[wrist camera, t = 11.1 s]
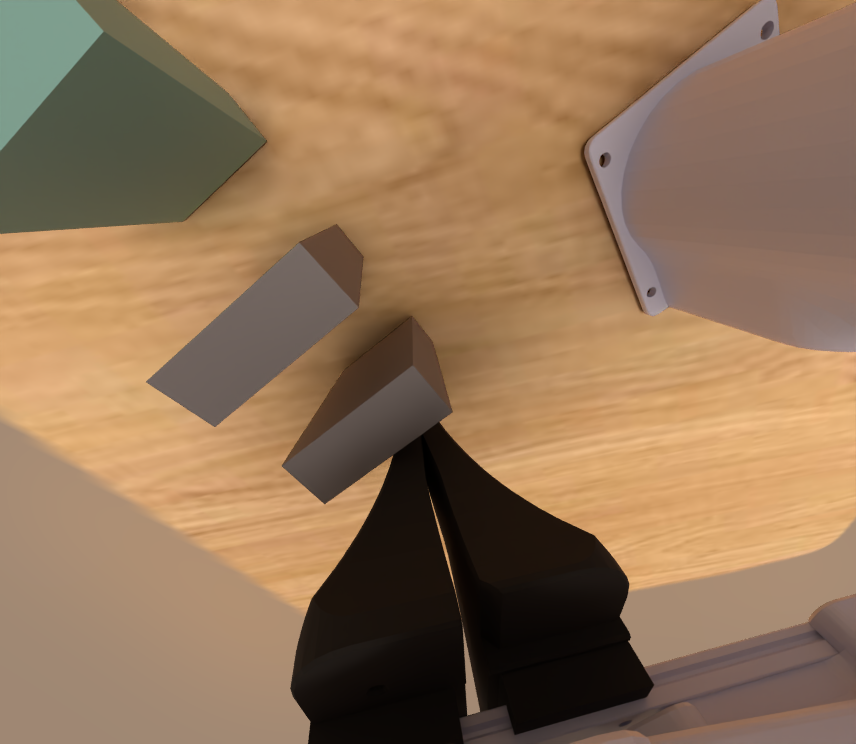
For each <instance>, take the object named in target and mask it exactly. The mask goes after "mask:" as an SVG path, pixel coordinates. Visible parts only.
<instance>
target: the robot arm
mask: <svg viewBox="0 0 856 744" xmlns="http://www.w3.org/2000/svg"><path fill="white" fill-rule="evenodd" d="M761 30H762V36H760V35H761ZM602 154H603V155H604V157H605V162H604V165H603V166H602V167H601V166H600V165H599V159H600V157H601V155H602ZM584 155H585V159H586V162H587V164H588V167H589V170H590V172H591V175H592V177H593V180H594V183H595V185H596V188H597V191H598V193H599V196H600V198H601V201H602V204H603V206H604V209H605V212H606V214H607V217H608V220H609V222H610V225H611V227H612V230H613V233H614V235H615V238H616V241H617V243H618V246H619V249H620V251H621V254H622V256H623V259H624V262H625V264H626V267H627V270H628V272H629V275H630V277H631V280H632V283H633V285H634V288H635V291H636V293H637V296H638V299H639V301H640V304H641V306H642V309H643V311H644V313H645V314H648V315H651V316H655V315H657V314H659V313H661V312H662V311H663V310H665V309H666V308H668V307H671V308H675V309H678V310H681V311H684V312H687V313H690V314H693V315H696V316H699V317H702V318H705V319H709V320H712V321H715V322H718V323H721V324H724V325H727V326H730V327H733V328H736V329H739V330H743V331H746V332H749V333H752V334H755V335H758V336H761V337H764V338H767V339H770V340H773V341H777V342H780V343H783V344H786V345H791V346H795V347H799V348H805V349H812V350H821V351H834V352H856V2H855V3H853V4H851V5H848V6H846V7H844V8H841V9H839V10H837V11H834V12H832V13H830V14H827V15H825V16H823V17H820V18H818V19H815V20H813V21H811V22H808V23H806V24H804V25H801V26H799V27H797V28H794V29H792V30H790V31H787V32H785V33H782V34H780V32H779V19H778V7H777V2H776V0H761V1H759V2H757V3H755V4H754V5H752V6H751V7H750V8H749V9H748V10H746V11H745V12H744V13H743V14H741V15H740V16H739V17H738V18H737V19H735V20H734V21H733V22H732V23H730V24H729V25H728V26H727V27H726V28H724V29H723V30H722V31H721V32H719V33H718V34H717V35H716V36H715V37H713V38H712V39H711V40H710V41H708V42H707V43H706V44H705V45H704V46H702V47H701V48H700V49H699V50H697V51H696V52H695V53H694V54H693V55H691V56H690V57H689V58H688V59H686V60H685V61H684V62H683V63H682V64H680V65H679V66H678V67H677V68H675V69H674V70H673V71H672V72H671V73H669V74H668V75H667V76H666V77H664V78H663V79H662V80H661V81H660V82H658V83H657V84H656V85H655V86H653V87H652V88H651V89H650V90H649V91H647V92H646V93H645V94H644V95H642V96H641V97H640V98H639V99H638V100H636V101H635V102H634V103H633V104H631V105H630V106H629V107H628V108H627V109H625V110H624V111H623V112H622V113H620V114H619V115H618V116H617V117H616V118H614V119H613V120H612V121H611V122H609V123H608V124H607V125H606V126H605V127H603V128H602V129H601V130H600V131H598V132H597V133H596V134H595V135H594V136H592V137H591V138H590V139H589V141H588V142H587V144H586V146H585V151H584ZM649 289H650V292H649V293H648V294H647V291H648V290H649ZM428 490H429V491H428ZM429 493H430V495H429ZM430 496H431V499H432V503H433V506H434V509H435V512H436V516H437V519H438V522H439V525H440V529H441V532H442V535H443V538H444V541H445V545H446V549H447V553H448V557H449V561H450V566H451V571H452V575H453V580H454V585H455V589H456V593H455V589H454V586H453V582H452V579H451V575H450V572H449V568H448V564H447V561H446V557H445V553H444V550H443V546H442V542H441V539H440V535H439V531H438V527H437V523H436V519H435V515H434V511H433V507H432V503H431V499H430ZM628 589H629V581H628V579H627V576H626V575H625V573H624V572H623V571H622V569H621V568H620V566H619V565H618V563H617V562H616V561H615V559H614V558H613V557H612V556H611V554H610V553H609V552H608V551H607V549H606V548H605V547H604V546H603V545H602V544H601V543H600V541H599V540H598V539H597V538H596V537H595V536H594V535H592V534H590V533H588V532H586V531H584V530H582V529H580V528H577V527H575V526H573V525H571V524H569V523H567V522H565V521H562V520H560V519H558V518H556V517H554V516H553V515H551V514H549V513H547V512H545V511H543V510H542V509H540V508H538V507H536V506H535V505H533V504H532V503H530V502H528V501H527V500H525V499H524V498H522V497H520V496H519V495H517V494H516V493H514V492H513V491H511V490H510V489H508V488H507V487H506V486H504V485H503V484H502V483H500V482H499V481H498V480H496V479H495V478H494V477H492V476H491V475H490V474H489V473H488V472H486V471H485V470H484V469H483V468H482V467H481V466H479V465H478V464H477V463H476V462H475V461H474V460H473V459H472V458H471V457H470V456H469V455H468V454H467V453H466V452H465V451H464V450H463V449H462V448H461V447H460V446H459V445H458V444H457V443H456V442H455V441H454V440H453V438H452V437H451V436H450V435H449V434H448V433H447V431H446V430H445V429H444V428H443V426H442V425H441V424H440V422H438V423H437V424H435V425H434V426H433V427H431V428H430V429H428V430H427V431H426V432H424V433H423V434H422V435H420V436H419V437H417V438H416V439H415V440H413V441H412V442H410V443H409V444H408V445H406V446H405V447H403V448H402V449H401V450H399V451H398V452H396V453H395V454H394V455H393V458H392V461H391V464H390V467H389V470H388V473H387V475H386V478H385V481H384V483H383V486H382V488H381V490H380V493H379V495H378V497H377V499H376V501H375V503H374V505H373V507H372V509H371V511H370V513H369V515H368V517H367V519H366V521H365V522H364V524H363V526H362V528H361V529H360V531H359V533H358V534H357V536H356V537H355V539H354V541H353V542H352V544H351V545H350V547H349V548H348V550H347V551H346V553H345V554H344V556H343V557H342V559H341V560H340V562H339V563H338V565H337V566H336V567H335V569H334V570H333V571H332V573H331V574H330V575H329V577H328V578H327V579H326V581H325V582H324V583H323V585H322V586H321V587H320V588H319V590H318V591H317V592H316V594H315V595H314V596H313V598H312V599H311V602H310V605H309V608H308V611H307V614H306V617H305V620H304V623H303V626H302V630H301V634H300V638H299V641H298V646H297V650H296V656H295V662H294V669H293V675H292V682H291V688H290V689H291V692H292V695H293V697H294V699H295V700H296V701H297V703H298V705H299V706H300V707H301V709H302V710H303V712H304V713H305V715H306V716H307V717H308V719H309V720H310V722H311V723H310V731H309V740H308V744H856V594H853V595H850V596H846V597H843V598H839V599H835V600H832V601H829V602H827V603H825V604H823V605H822V606H820V607H819V608H818V609H816V610H815V611H814V612H813V613H812V615H811V616H810V617H809V622H806V623H803V624H799V625H795V626H792V627H789V628H785V629H781V630H777V631H773V632H770V633H767V634H763V635H759V636H755V637H752V638H748V639H745V640H741V641H738V642H734V643H730V644H726V645H723V646H719V647H716V648H712V649H708V650H704V651H701V652H697V653H694V654H690V655H686V656H683V657H679V658H675V659H672V660H668V661H664V662H661V663H657V664H653V665H650V666H646V667H643V665H642V664H641V662H640V660H639V659H638V657H637V655H636V653H635V652H634V650H633V648H632V647H631V645H630V643H629V642H628V641H629V640H630V638H631V636H630V633H629V631H628V630H627V628H626V626H625V625H624V623H623V621H622V620H621V618H620V614H621V612H622V609H623V606H624V603H625V601H626V598H627V595H628ZM456 594H457V597H456ZM457 599H458V602H457ZM458 604H459V606H458ZM459 609H460V611H459ZM460 613H461V615H460ZM461 618H462V620H461ZM462 623H463V626H462ZM463 628H464V633H465V637H466V643H467V647H468V652H469V657H470V662H471V667H472V672H473V677H474V682H475V687H476V692H477V697H478V702H479V707H480V712H479V713H476V714H472V715H468V716H467V706H466V691H465V684H466V673H465V658H464V643H463V642H464V641H463Z"/></svg>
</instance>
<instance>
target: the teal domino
mask: <svg viewBox="0 0 856 744" xmlns="http://www.w3.org/2000/svg"><path fill="white" fill-rule="evenodd" d="M265 142H266V139H265V138H264V137H263V136H262V134H261V133H260V132H259V131H258V129H257V128H256V127H255V126H254V125H253V123H252V122H251V121H250V120H249V118H248V117H247V116H246V115H245V113H244V112H243V111H242V110H241V108H240V107H239V106H238V105H237V103H236V102H235V101H234V100H233V98H232V97H231V96H230V95H229V94H228V93H227V92H226V91H225V90H224V89H223V88H221V87H220V86H219V85H218V84H217V83H215V82H214V81H213V80H212V79H211V78H209V77H208V76H207V75H206V74H205V73H203V72H202V71H201V70H200V69H199V68H197V67H196V66H195V65H194V64H192V63H191V62H190V61H189V60H188V59H186V58H185V57H184V56H183V55H182V54H180V53H179V52H178V51H177V50H176V49H174V48H173V47H172V46H171V45H170V44H168V43H167V42H166V41H165V40H164V39H162V38H161V37H160V36H159V35H158V34H156V33H155V32H154V31H153V30H151V29H150V28H149V27H148V26H147V25H145V24H144V23H143V22H142V21H141V20H139V19H138V18H137V17H136V16H135V15H133V14H132V13H131V12H130V11H129V10H127V9H126V8H125V7H124V6H123V5H121V4H120V3H119V2H118V1H117V0H0V234H4V233H19V232H34V231H49V230H64V229H79V228H94V227H109V226H124V225H139V224H154V223H169V222H183V221H184V220H185V219H186V218H187V217H188V216H189V215H191V214H192V213H193V212H194V211H195V210H196V209H197V208H198V207H199V206H200V205H201V204H202V203H203V202H204V201H205V200H206V199H207V198H208V197H209V196H210V195H211V194H212V193H213V192H214V191H215V190H217V189H218V188H219V187H220V186H221V185H222V184H223V183H224V182H225V181H226V180H227V179H228V178H229V177H230V176H231V175H232V174H233V173H234V172H235V171H236V170H237V169H238V168H239V167H240V166H241V165H242V164H244V163H245V162H246V161H247V160H248V159H249V158H250V157H251V156H252V155H253V154H254V153H255V152H256V151H257V150H258V149H259V148H260V147H261V146H262V145H263V144H264V143H265Z"/></svg>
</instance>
